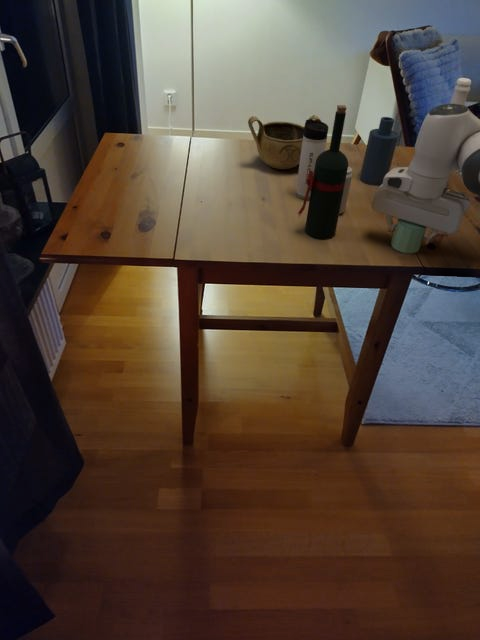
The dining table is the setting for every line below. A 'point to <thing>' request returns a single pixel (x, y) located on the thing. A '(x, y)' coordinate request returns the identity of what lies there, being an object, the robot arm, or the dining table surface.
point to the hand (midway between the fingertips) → (407, 236)
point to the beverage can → (346, 190)
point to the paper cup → (407, 236)
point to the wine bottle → (327, 185)
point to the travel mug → (310, 153)
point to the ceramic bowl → (279, 142)
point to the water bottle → (379, 152)
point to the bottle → (461, 91)
